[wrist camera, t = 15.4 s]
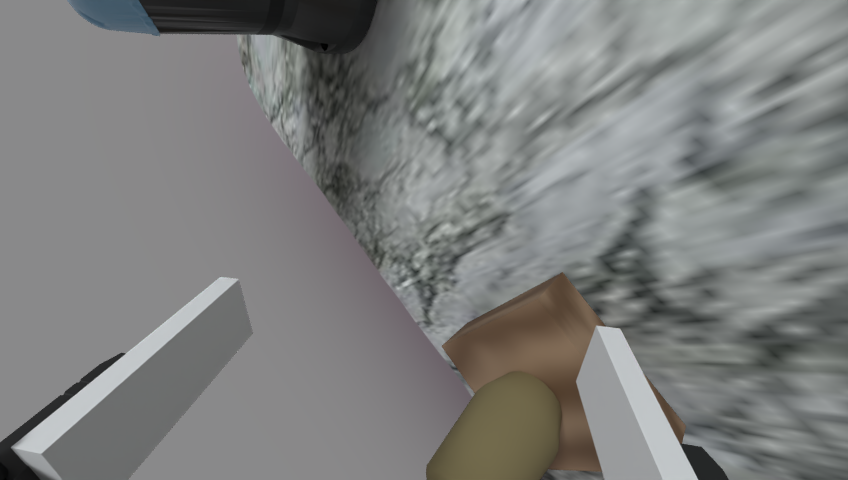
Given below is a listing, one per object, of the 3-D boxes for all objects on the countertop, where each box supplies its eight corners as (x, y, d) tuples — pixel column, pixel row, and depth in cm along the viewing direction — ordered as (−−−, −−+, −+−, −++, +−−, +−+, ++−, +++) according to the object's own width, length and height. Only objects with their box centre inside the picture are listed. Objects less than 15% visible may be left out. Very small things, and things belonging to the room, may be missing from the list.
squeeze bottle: (588, 443, 30) (469, 695, 18) (512, 421, 36) (387, 600, 24) (557, 364, 29) (410, 577, 17) (484, 355, 35) (340, 509, 23)
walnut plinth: (466, 323, 43) (441, 346, 40) (562, 272, 31) (537, 298, 28) (547, 434, 40) (527, 468, 37) (685, 426, 28) (674, 474, 25)
